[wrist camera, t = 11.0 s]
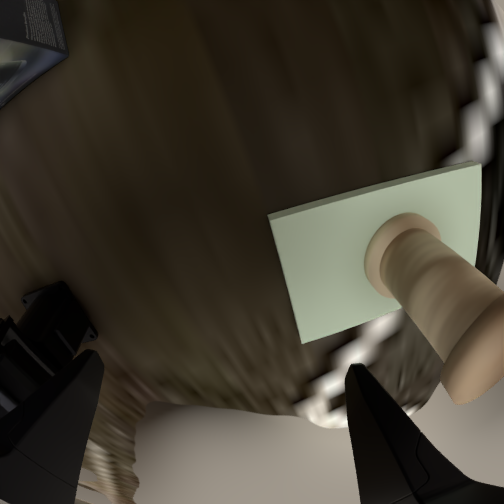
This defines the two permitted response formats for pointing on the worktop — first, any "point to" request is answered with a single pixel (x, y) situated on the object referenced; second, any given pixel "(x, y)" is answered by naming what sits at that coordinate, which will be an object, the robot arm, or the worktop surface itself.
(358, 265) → the board
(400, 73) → the worktop surface
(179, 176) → the worktop surface
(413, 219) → the tan turned knob
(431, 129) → the worktop surface
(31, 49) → the small box
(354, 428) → the robot arm
